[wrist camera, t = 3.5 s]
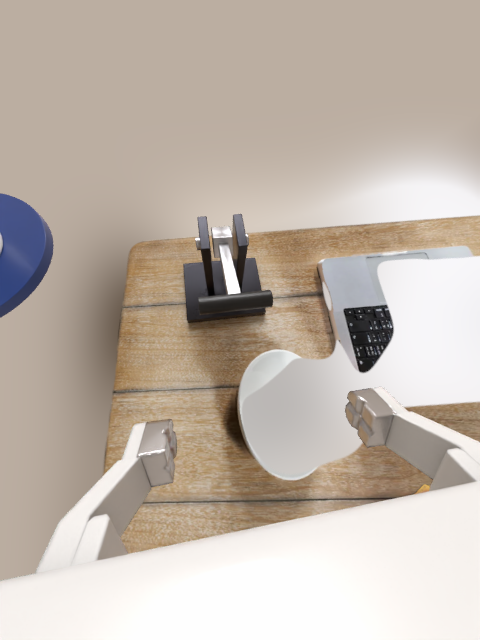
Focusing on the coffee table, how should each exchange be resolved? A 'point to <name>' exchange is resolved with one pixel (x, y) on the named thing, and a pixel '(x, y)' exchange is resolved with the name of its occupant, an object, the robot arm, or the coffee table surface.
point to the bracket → (219, 274)
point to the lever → (230, 281)
